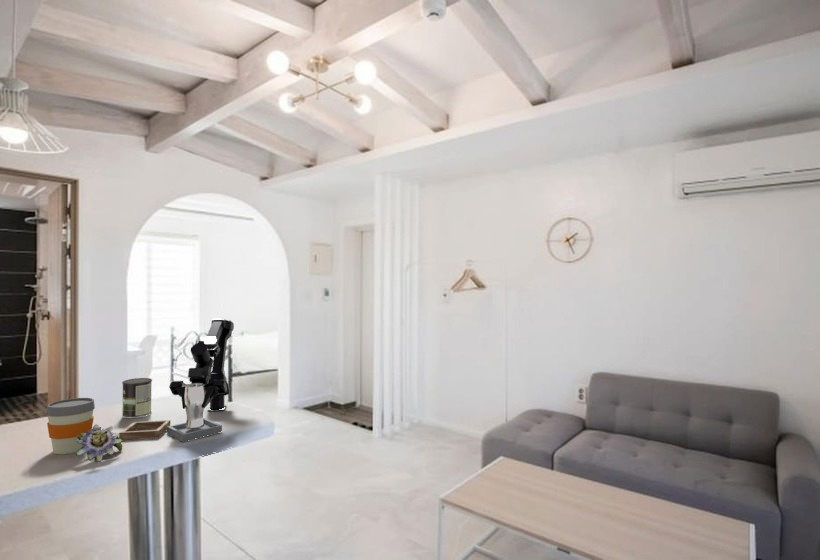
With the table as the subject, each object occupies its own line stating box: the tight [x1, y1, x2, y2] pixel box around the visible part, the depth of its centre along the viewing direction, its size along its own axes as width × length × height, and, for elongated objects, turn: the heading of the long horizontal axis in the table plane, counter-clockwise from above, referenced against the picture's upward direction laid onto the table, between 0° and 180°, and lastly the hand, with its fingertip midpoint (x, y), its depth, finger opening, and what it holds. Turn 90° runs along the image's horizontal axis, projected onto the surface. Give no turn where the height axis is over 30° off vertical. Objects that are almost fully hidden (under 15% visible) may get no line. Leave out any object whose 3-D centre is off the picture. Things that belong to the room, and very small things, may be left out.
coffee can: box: [121, 377, 153, 419], centre depth 183 cm, size 10×10×14 cm
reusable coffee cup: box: [45, 397, 96, 455], centre depth 146 cm, size 13×13×15 cm
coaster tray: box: [166, 417, 223, 443], centre depth 161 cm, size 14×14×2 cm
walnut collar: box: [118, 419, 171, 441], centre depth 161 cm, size 12×12×2 cm
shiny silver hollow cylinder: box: [184, 383, 206, 429], centre depth 161 cm, size 7×7×15 cm
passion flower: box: [74, 423, 123, 463], centre depth 139 cm, size 11×11×12 cm
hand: (193, 408), depth 160 cm, fingers closed on shiny silver hollow cylinder, 6 cm apart
